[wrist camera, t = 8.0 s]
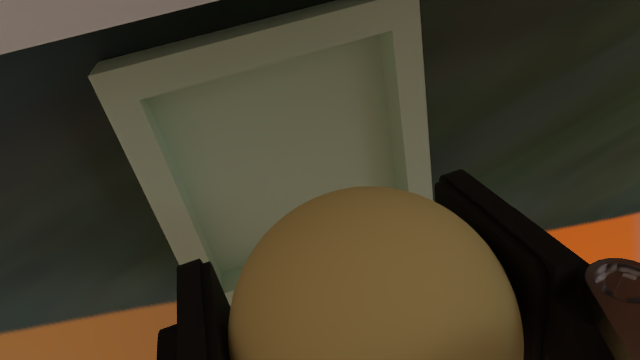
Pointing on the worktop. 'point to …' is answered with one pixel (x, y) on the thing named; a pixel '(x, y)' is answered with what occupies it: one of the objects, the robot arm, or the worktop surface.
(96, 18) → the wall
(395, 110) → the tray
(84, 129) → the worktop surface
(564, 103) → the worktop surface
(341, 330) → the ball
